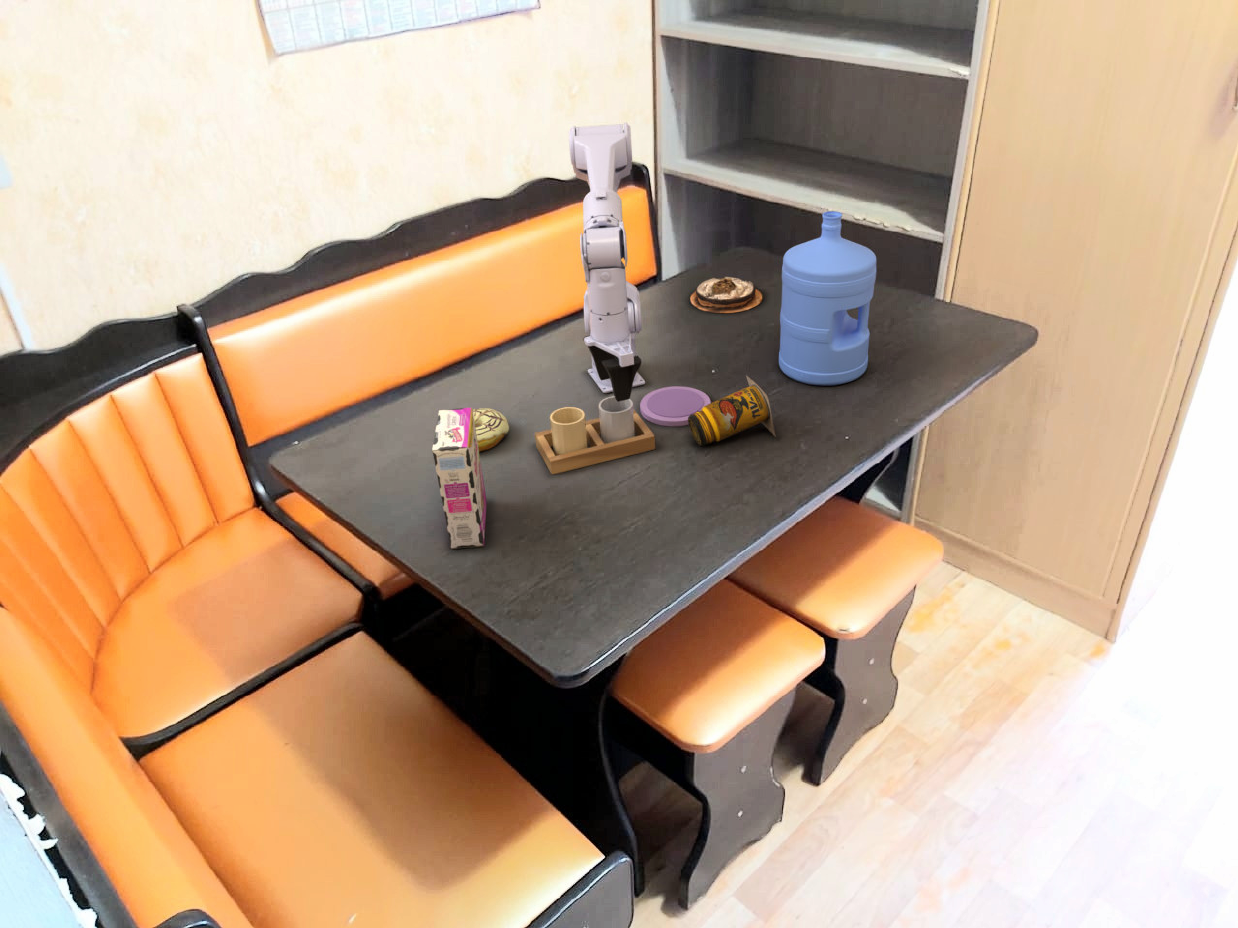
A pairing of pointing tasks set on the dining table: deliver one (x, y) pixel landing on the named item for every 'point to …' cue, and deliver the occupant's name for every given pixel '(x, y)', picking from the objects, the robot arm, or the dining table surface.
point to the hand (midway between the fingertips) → (614, 388)
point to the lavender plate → (672, 405)
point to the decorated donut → (489, 427)
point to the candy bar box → (460, 477)
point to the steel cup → (616, 420)
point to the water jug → (826, 307)
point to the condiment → (731, 415)
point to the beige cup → (568, 430)
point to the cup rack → (595, 447)
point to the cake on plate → (725, 295)
